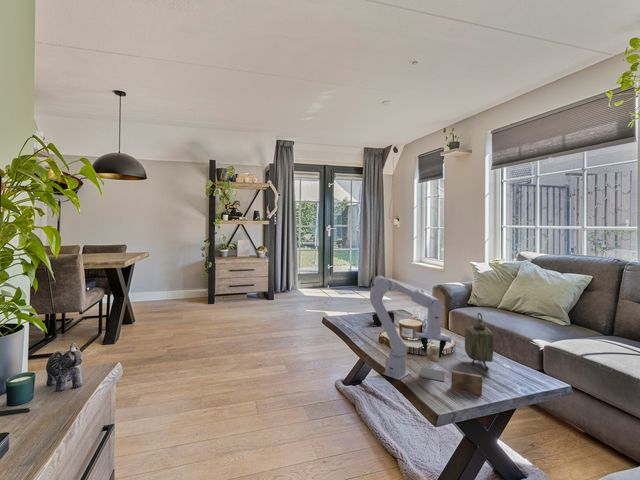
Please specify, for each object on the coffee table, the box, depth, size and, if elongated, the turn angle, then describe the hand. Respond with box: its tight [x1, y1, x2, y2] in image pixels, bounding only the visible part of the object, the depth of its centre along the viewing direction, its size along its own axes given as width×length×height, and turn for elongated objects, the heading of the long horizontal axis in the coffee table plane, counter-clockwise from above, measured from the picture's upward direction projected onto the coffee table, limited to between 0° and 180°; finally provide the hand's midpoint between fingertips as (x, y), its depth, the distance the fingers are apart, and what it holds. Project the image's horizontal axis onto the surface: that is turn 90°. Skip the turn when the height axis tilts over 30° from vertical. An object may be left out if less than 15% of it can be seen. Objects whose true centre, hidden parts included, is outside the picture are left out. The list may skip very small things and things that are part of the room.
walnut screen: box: [450, 370, 483, 396], centre depth 129 cm, size 11×2×7 cm, turn 67°
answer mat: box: [419, 367, 446, 383], centre depth 144 cm, size 10×10×1 cm
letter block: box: [426, 345, 440, 363], centre depth 143 cm, size 5×5×5 cm
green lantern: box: [464, 312, 494, 371], centre depth 155 cm, size 14×9×25 cm, turn 168°
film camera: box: [371, 310, 395, 327], centre depth 220 cm, size 18×12×10 cm
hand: (433, 356), depth 143 cm, fingers closed on letter block, 5 cm apart
